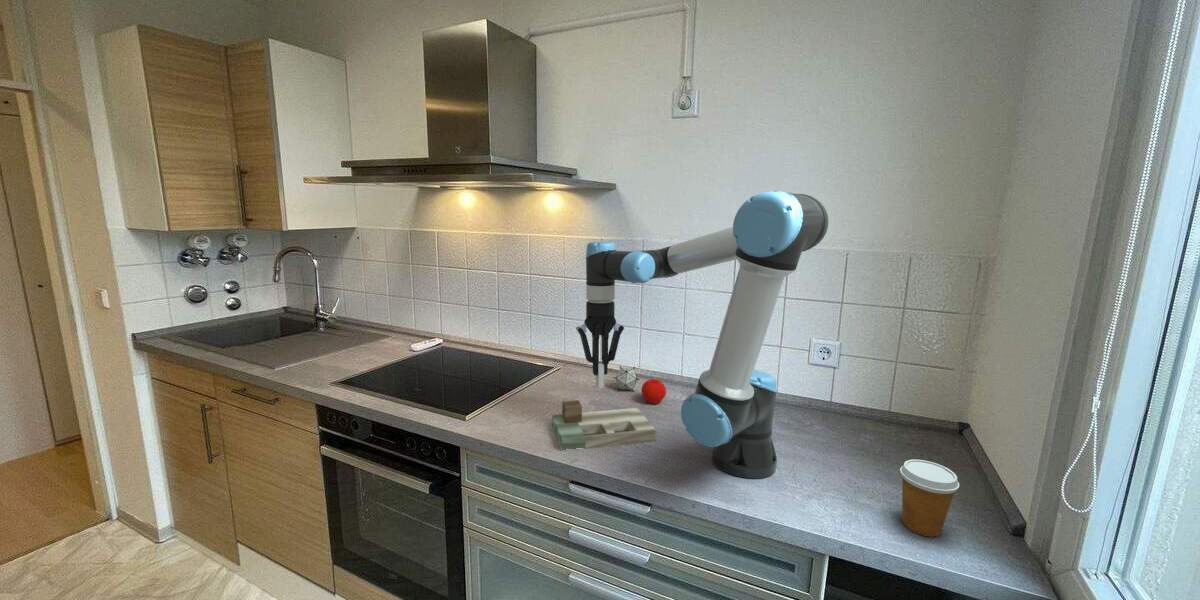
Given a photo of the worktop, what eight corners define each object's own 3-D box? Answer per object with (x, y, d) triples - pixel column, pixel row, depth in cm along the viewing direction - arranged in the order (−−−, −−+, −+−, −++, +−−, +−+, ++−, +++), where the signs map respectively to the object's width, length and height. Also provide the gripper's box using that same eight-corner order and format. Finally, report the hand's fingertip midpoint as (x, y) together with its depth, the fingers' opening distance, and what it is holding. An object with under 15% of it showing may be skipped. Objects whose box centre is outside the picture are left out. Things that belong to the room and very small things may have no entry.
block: (581, 422, 132) (581, 406, 131) (565, 423, 131) (565, 407, 130) (578, 415, 136) (578, 400, 135) (562, 416, 135) (562, 401, 134)
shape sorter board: (655, 441, 129) (656, 430, 128) (562, 450, 122) (562, 439, 122) (636, 417, 143) (637, 407, 142) (551, 425, 136) (552, 415, 136)
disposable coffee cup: (955, 549, 90) (966, 489, 87) (895, 533, 94) (904, 476, 91) (944, 520, 98) (954, 465, 96) (890, 507, 102) (898, 454, 100)
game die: (627, 402, 164) (627, 386, 156) (608, 388, 168) (607, 371, 160) (644, 385, 168) (645, 368, 160) (625, 371, 172) (625, 354, 164)
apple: (637, 398, 158) (638, 376, 156) (660, 396, 159) (661, 375, 158) (644, 408, 150) (645, 385, 149) (669, 406, 152) (670, 383, 150)
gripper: (619, 297, 134) (618, 379, 138) (573, 299, 131) (573, 383, 135) (628, 301, 127) (627, 388, 131) (579, 303, 124) (579, 392, 128)
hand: (600, 385), depth 133 cm, fingers closed
